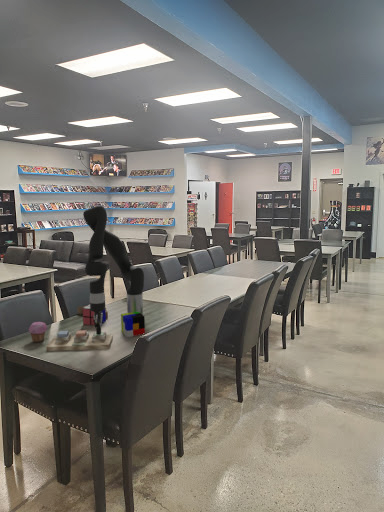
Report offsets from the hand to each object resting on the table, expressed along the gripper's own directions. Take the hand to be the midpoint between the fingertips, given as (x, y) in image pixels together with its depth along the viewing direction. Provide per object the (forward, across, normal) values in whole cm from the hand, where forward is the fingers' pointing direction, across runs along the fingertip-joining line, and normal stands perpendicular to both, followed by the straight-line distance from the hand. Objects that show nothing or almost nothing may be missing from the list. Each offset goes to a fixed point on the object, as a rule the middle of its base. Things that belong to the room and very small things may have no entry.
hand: (98, 333), depth 196 cm
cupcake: (+5, +5, +32) cm, 33 cm away
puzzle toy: (+5, +14, -16) cm, 22 cm away
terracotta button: (+1, 0, +9) cm, 9 cm away
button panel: (+5, -2, +9) cm, 10 cm away
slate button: (+1, 0, +18) cm, 18 cm away
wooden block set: (+5, +46, +12) cm, 48 cm away
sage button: (+2, 0, 0) cm, 2 cm away
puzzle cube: (+5, +32, +8) cm, 34 cm away
